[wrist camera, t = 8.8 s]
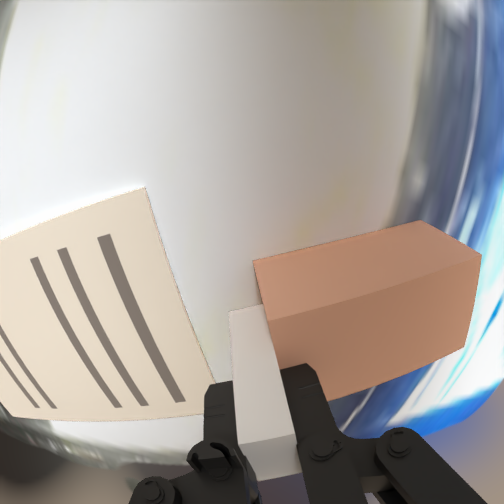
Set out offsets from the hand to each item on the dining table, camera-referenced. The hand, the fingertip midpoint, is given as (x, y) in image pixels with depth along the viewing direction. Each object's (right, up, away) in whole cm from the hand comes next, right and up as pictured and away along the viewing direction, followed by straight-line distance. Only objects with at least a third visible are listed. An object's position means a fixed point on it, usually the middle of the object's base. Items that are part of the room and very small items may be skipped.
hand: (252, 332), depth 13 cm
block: (+1, 0, 0) cm, 1 cm away
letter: (-13, -2, +2) cm, 13 cm away
